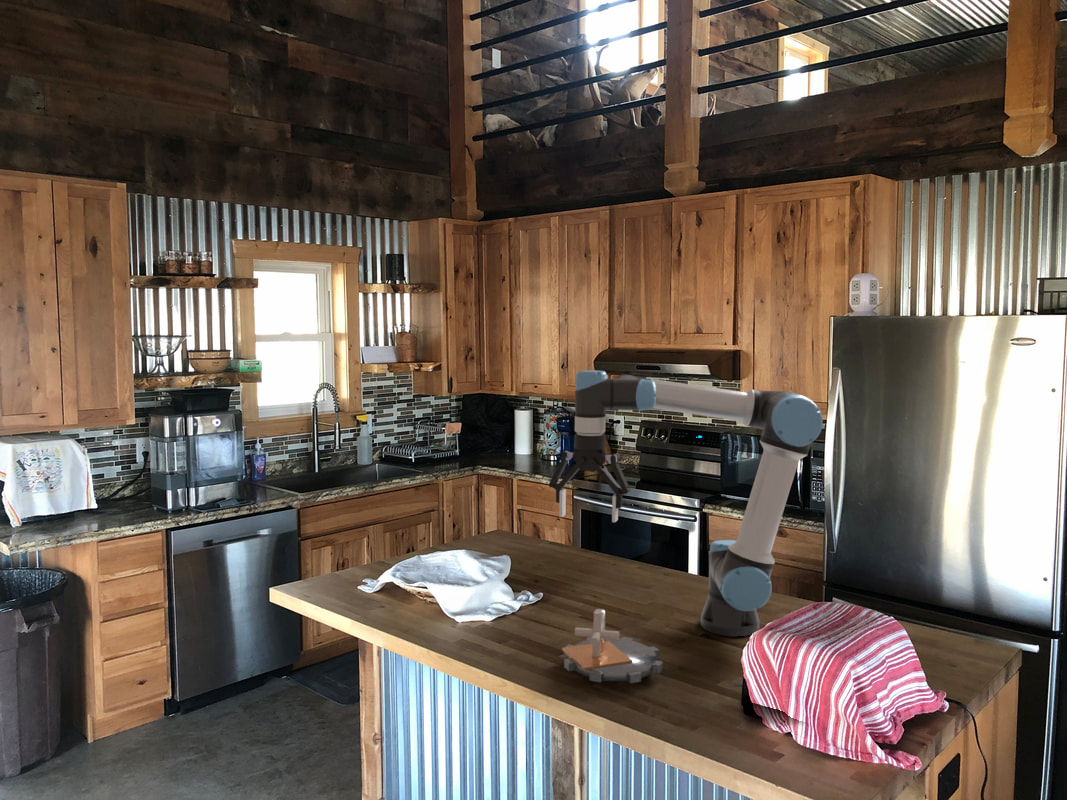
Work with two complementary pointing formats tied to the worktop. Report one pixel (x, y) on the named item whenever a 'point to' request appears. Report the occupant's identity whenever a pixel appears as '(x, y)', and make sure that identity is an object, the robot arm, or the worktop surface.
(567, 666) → the sprocket
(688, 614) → the worktop surface
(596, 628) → the pipe connector
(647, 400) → the robot arm
